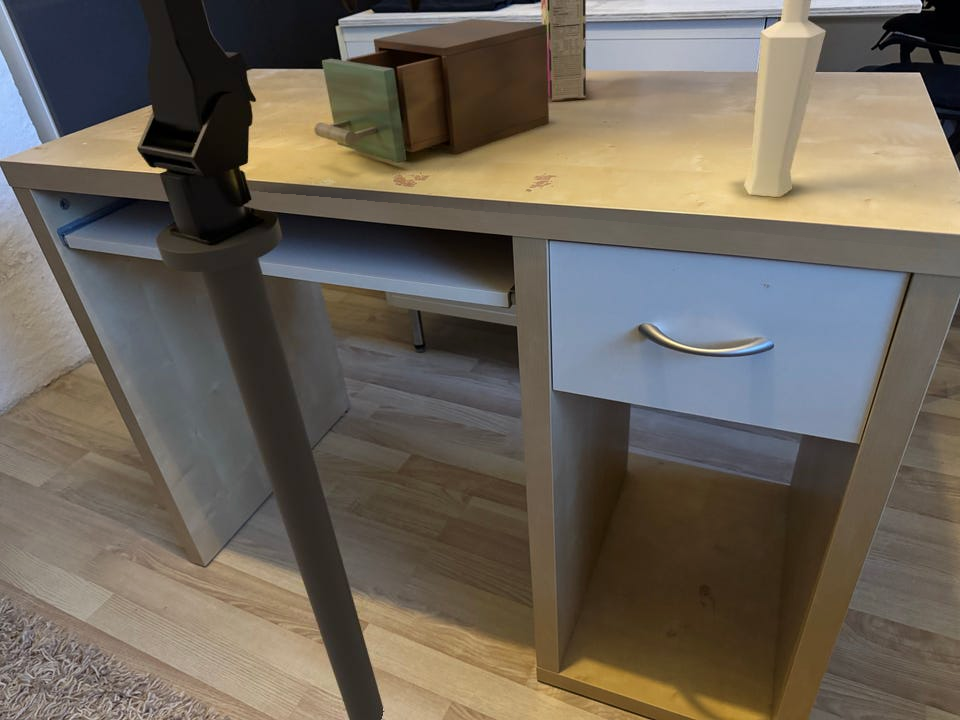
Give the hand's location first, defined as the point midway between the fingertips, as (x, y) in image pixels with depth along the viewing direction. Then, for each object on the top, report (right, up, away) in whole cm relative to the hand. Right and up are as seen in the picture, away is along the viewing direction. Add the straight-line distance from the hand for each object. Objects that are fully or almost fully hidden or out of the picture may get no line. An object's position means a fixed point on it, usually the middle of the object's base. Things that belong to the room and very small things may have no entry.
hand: (383, 11), depth 76 cm
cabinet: (+9, -11, +6) cm, 16 cm away
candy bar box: (+22, -2, +18) cm, 29 cm away
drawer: (+2, -14, 0) cm, 15 cm away
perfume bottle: (+35, -24, -17) cm, 46 cm away
